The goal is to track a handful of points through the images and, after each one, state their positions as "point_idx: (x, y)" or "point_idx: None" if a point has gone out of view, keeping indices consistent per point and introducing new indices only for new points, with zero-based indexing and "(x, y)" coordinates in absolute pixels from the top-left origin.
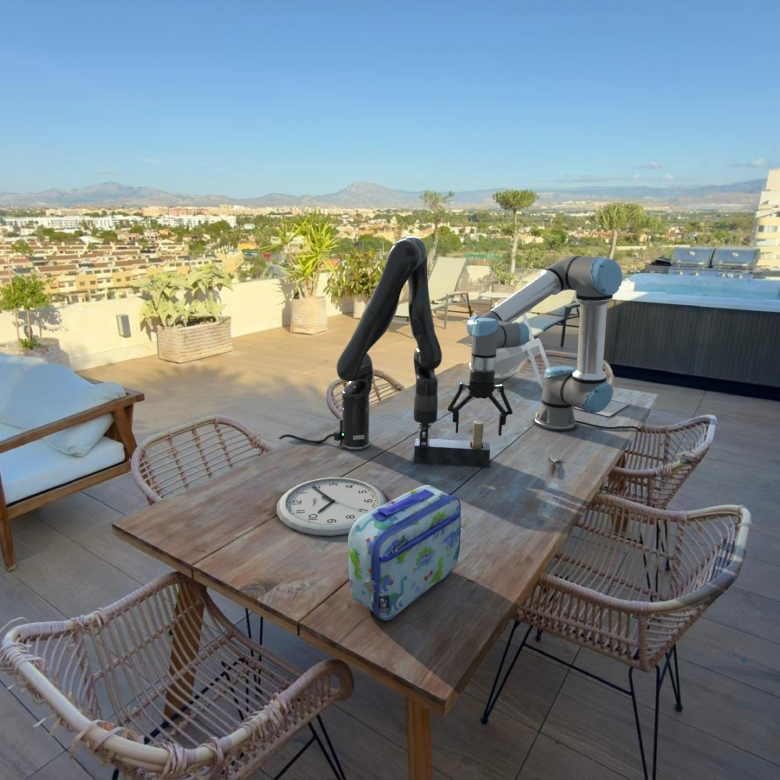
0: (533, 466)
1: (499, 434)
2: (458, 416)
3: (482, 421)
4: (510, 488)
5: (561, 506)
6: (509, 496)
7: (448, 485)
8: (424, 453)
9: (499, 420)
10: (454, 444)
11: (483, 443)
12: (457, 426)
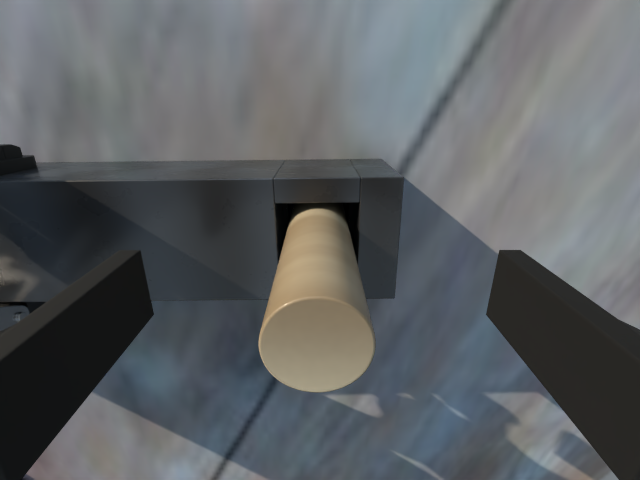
0: (598, 212)
1: (496, 321)
2: (35, 453)
3: (364, 327)
4: (433, 401)
5: (563, 471)
6: (418, 443)
7: (216, 409)
8: (38, 304)
9: (581, 369)
10: (172, 252)
11: (364, 206)
12: (113, 355)
